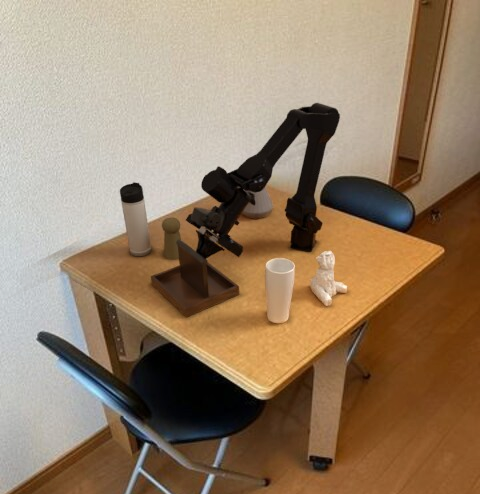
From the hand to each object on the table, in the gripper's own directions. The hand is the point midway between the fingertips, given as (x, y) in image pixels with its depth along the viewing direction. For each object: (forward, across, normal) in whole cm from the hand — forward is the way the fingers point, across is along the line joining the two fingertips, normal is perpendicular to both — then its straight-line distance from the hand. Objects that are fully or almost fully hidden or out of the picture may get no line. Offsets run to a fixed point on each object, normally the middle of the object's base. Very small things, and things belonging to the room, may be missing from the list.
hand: (195, 262), depth 126 cm
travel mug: (+8, -27, +4) cm, 28 cm away
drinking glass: (0, +22, +12) cm, 26 cm away
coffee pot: (-18, -24, +30) cm, 43 cm away
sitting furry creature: (-12, +22, +24) cm, 34 cm away
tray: (+6, 0, +5) cm, 8 cm away
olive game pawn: (+3, -19, +9) cm, 21 cm away
